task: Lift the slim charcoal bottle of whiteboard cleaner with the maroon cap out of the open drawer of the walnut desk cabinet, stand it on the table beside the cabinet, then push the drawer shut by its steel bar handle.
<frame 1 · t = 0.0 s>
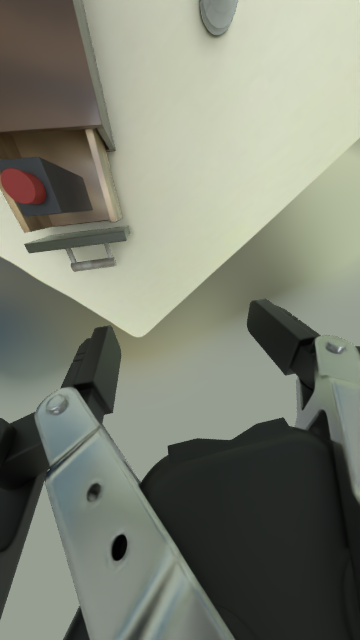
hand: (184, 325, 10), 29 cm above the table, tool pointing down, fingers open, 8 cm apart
drawer: (72, 203, 25), point 5 cm above the table, slide at 10.0 cm, touching cleaner bottle
cleaner bottle: (76, 195, 27), point 2 cm above the table, touching drawer
cabinet: (35, 68, 21), on the table
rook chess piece: (216, 7, 21), on the table
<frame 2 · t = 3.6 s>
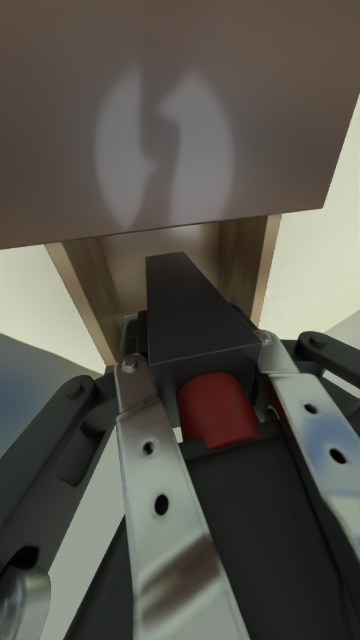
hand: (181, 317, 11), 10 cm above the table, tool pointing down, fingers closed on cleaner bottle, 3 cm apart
drawer: (173, 298, 15), point 5 cm above the table, slide at 10.0 cm, touching cleaner bottle
cleaner bottle: (167, 275, 17), point 2 cm above the table, touching drawer, gripper
cabinet: (138, 79, 11), on the table
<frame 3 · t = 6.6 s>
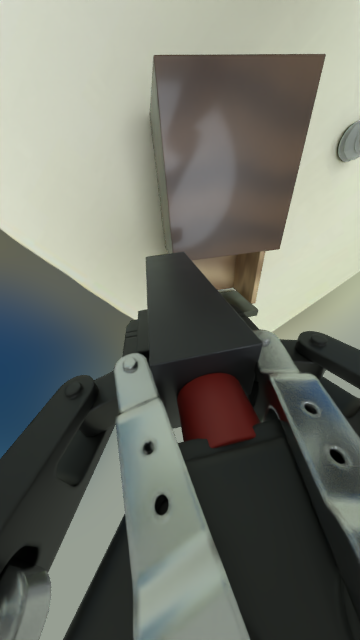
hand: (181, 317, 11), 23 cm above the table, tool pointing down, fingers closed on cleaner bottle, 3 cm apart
drawer: (213, 284, 30), point 5 cm above the table, slide at 10.0 cm
cleaner bottle: (168, 276, 17), point 15 cm above the table, touching gripper
cabinet: (205, 187, 26), on the table
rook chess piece: (348, 143, 27), on the table
when the fingers open (8 cm above the table, at t = 9.9 s): cleaner bottle stays where it is, on the table.
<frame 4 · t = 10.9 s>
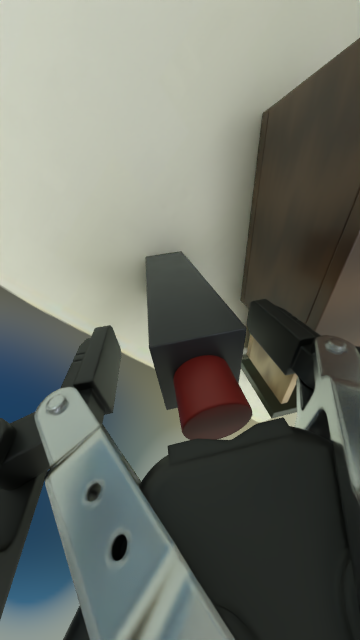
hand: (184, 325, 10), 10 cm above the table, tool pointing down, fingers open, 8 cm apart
drawer: (309, 351, 21), point 5 cm above the table, slide at 10.0 cm
cleaner bottle: (166, 274, 18), on the table
cabinet: (315, 221, 18), on the table
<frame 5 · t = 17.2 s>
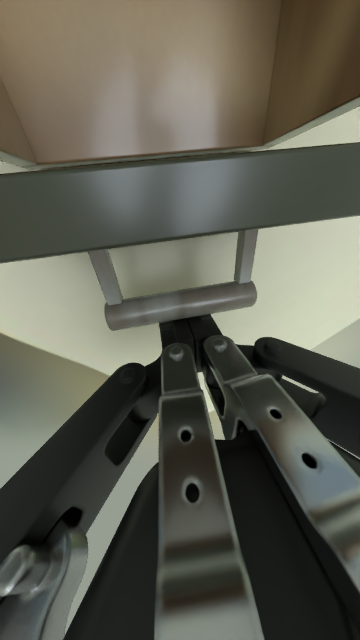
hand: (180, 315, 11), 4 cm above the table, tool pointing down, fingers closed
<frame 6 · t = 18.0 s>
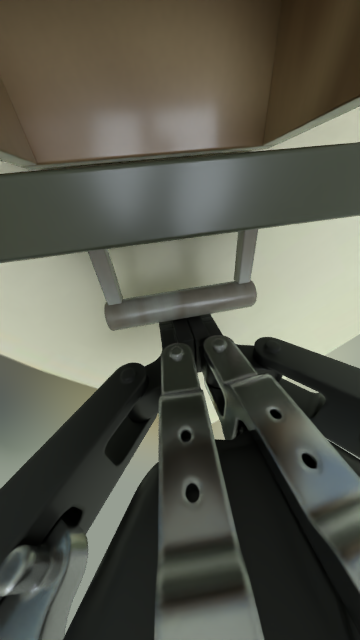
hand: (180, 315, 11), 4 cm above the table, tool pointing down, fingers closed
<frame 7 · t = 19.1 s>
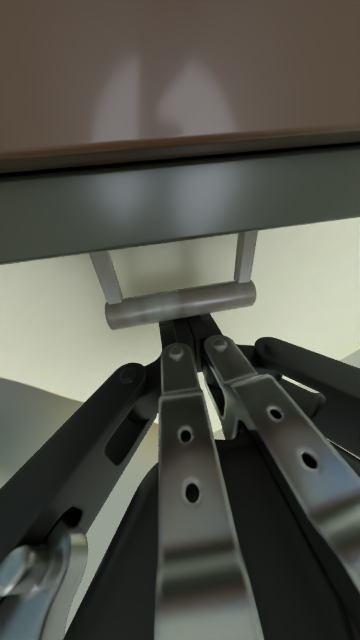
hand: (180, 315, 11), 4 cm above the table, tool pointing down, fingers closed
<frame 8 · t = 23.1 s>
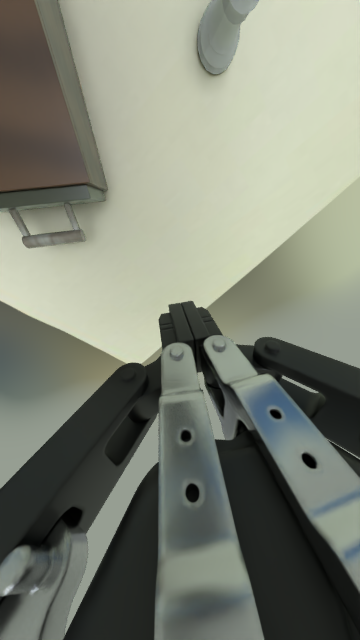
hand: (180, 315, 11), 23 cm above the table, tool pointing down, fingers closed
drawer: (14, 146, 17), point 5 cm above the table, slide at 0.0 cm
cabinet: (20, 111, 19), on the table
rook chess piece: (214, 46, 19), on the table
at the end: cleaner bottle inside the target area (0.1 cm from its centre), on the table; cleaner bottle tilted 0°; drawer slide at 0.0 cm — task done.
